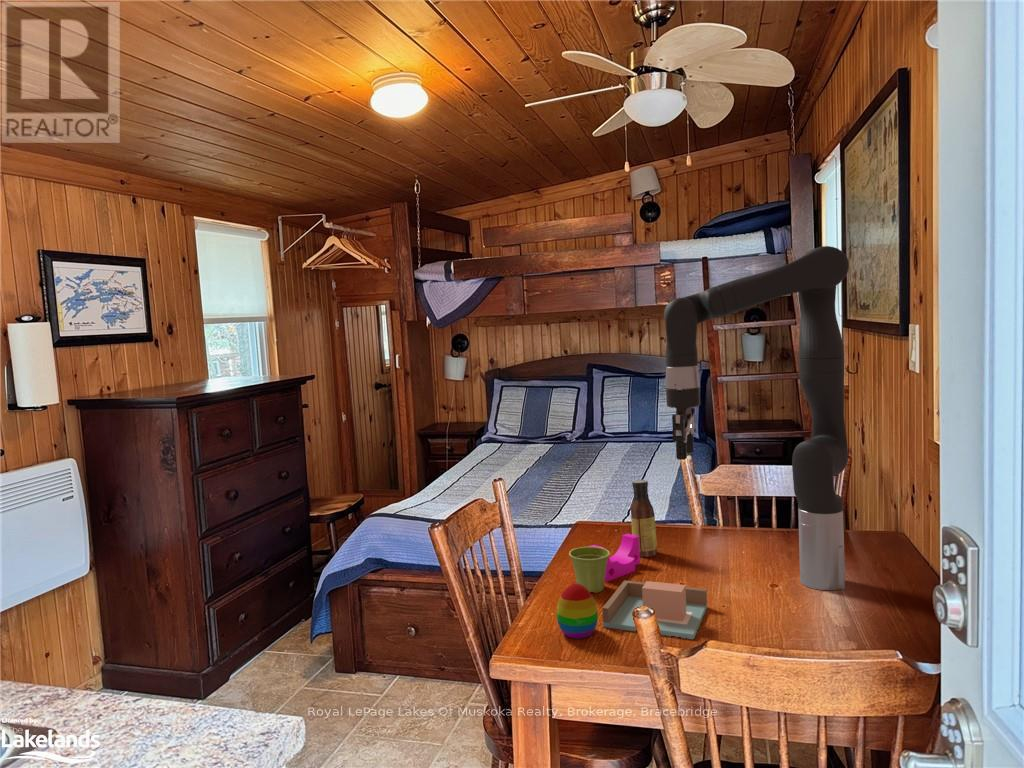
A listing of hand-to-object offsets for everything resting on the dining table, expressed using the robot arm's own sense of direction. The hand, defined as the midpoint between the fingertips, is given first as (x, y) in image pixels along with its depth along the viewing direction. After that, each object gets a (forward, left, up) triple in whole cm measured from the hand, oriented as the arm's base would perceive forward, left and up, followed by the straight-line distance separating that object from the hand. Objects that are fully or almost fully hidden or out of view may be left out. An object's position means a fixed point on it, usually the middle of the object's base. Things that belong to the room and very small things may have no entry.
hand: (685, 455), depth 157 cm
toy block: (+18, -3, -31) cm, 36 cm away
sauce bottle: (+15, -17, -30) cm, 38 cm away
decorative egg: (+16, +33, -30) cm, 48 cm away
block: (+1, +22, -29) cm, 36 cm away
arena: (+3, +21, -30) cm, 37 cm away
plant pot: (+21, +10, -30) cm, 38 cm away
